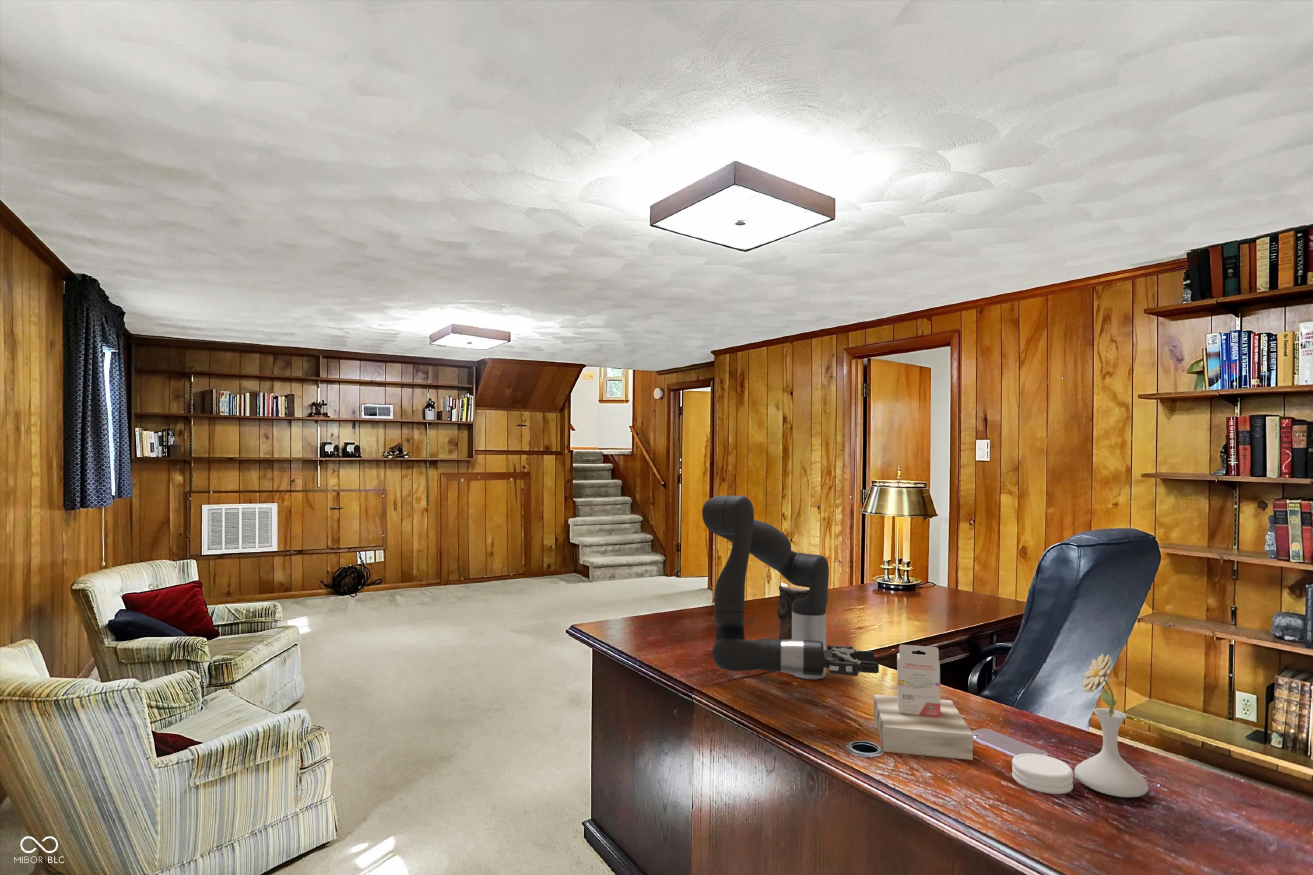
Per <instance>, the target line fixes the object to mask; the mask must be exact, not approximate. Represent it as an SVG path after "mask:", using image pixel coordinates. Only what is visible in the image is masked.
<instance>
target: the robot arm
mask: <svg viewBox="0 0 1313 875" xmlns="http://www.w3.org/2000/svg"><path fill="white" fill-rule="evenodd" d="M754 510H755V509H754V505H753V503H752V501H751V500H750V498H748V497H747V496H745V495H717V496H713V497H711V498H709V499H707V500H706V501H705V503H704V504H703V506H702V510H701V517H702V520H703V523H704V525H705V526H706V528H707V529H708V530H709V531H710V532H711V533H712V534H714V535H716V536H719V537H721V538H722V539H726V540H727V541H730V542H732V543H731V545H732V546H731V549H730V550H731V551H730V553H729V557H728V558H727V561H726V562H725V565H724V567H723V568H722V570H721V572H720V574H719V576H718V578H717V581H716V583H715V587H714V588H715V589H714V598H713V600H714V602H713V603H714V605H713V607H714V608H713V614H714V621H715V643H714V645H713V646H712V650H711V654H712V660H713V661H714V663H715V665H716V666H717V667H718V668H721V669H722V670H725V671H735V672H736V671H737V672H738V671H739V672H740V671H741V672H742V671H743V672H744V671H746V672H747V671H765V672H777V673H785V674H791V675H793V676H794V677H797V678H801V679H805V680H820V679H824V678H825V677H826V676H827V675H826V674H827V670H826V669H829V671H828V673H829V674H830V675H840V676H841V675H844V676H852V677H853V676H855V677H858V676H859V675H860V674H861V673H867V674H879V669H880V666H879V663H878V662H877V661H875V652H874V651H872V650H858V649H856V648H854V646H848V645H847V646H845V645H843V646H842V645H840V646H839V645H831V644H830V645H827V604H828V598H829V597H828V595H829V581H830V580H829V578H830V567H829V561H828V559H827V558H826V557H825V556H824V555H821V554H813V553H812V554H811V553H803V552H797V551H794V550H792V547H791V545H792V544H791V541H790V540H789V538H788V536H786V534H785V533H783V531H781V530H780V529H778V528H777V527H775V526H773V525H772V524H769V523H767V522H765V521H761V520H758V519H757V520H756V519H755V511H754ZM750 555H752V556H753V557H755V559H757V560H759V561H760V562H761V563H763V564H765V565H767V566H768V567H770V568H772V569H774V570H775V571H777V572H778V573H779V574H780V575H782V577H784V579H786V581H788V582H789V583H790V584H791V585H794V586H796V587H803V588H808V590H809V594H808V596H807V597H804V598H800V599H796V600H794V601H793V603H792V639H788V640H780V639H776V638H775V639H773V638H760V639H756V640H753V639H752V640H748V639H745V625H744V620H745V604H746V603H745V602H746V601H745V600H746V599H745V593H746V592H745V591H746V576H747V570H748V564H749V558H750Z"/></svg>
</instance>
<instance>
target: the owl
mask: <svg viewBox="0 0 1313 875" xmlns="http://www.w3.org/2000/svg"><path fill="white" fill-rule="evenodd" d="M778 590H779V599H778V609H777V612H776V613H777V617H778V621H779V633H778V640H788V639H792V603H793V601H794V600H796V599H800V598H804V597H807V596H808V594H809V589H807V588H799V587H787V586H783V585H781V584H780V585H778Z"/></svg>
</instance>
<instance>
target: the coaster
mask: <svg viewBox="0 0 1313 875" xmlns="http://www.w3.org/2000/svg"><path fill="white" fill-rule="evenodd" d="M1011 764H1012V766H1011V769H1012V773H1011V775H1012V778H1013V779H1014V780H1015V781H1016V783H1018V784H1019V785H1020V786H1023V787H1024V788H1027V789H1029V790H1032V791H1036V792H1038V793H1039V792H1040V793H1044V794H1051V795H1062V794H1068V793H1070V792H1071V791H1073V788H1074V783H1073V782H1074V771H1073V769H1072V768H1071V766H1070V765H1068V764H1067V763H1066V762H1064V761H1062V760H1060V759H1058V758H1056V757H1053V756H1045V755H1040V754H1031V753H1026V754H1019V755H1016V756H1015V757H1012V760H1011Z"/></svg>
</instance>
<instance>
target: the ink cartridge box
mask: <svg viewBox="0 0 1313 875" xmlns="http://www.w3.org/2000/svg"><path fill="white" fill-rule="evenodd" d="M898 651H899V652H898V653H897V655H896V662H897V663H896V667H897V669H896V670H897V671H896V676H897V677H896V680H897V681H896V682H897V687H896V688H897V690H896V691H897V693H896V694H897V695H896V696H897V698H898V699H897V701H898V710H899V713H904V714H914V715H924V716H934V717H940V700H941V666H940V665H941V664H940V661H939V660H940V658H939V654H940V653H939V652H940V651H939V648H938V647H937V646H934V647H933V646H925V645H924V646H923V645H922V646H921V645H910V644H900V645H899V646H898ZM917 651H920V652H922V653H925V654H917V653H913V652H917Z"/></svg>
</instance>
